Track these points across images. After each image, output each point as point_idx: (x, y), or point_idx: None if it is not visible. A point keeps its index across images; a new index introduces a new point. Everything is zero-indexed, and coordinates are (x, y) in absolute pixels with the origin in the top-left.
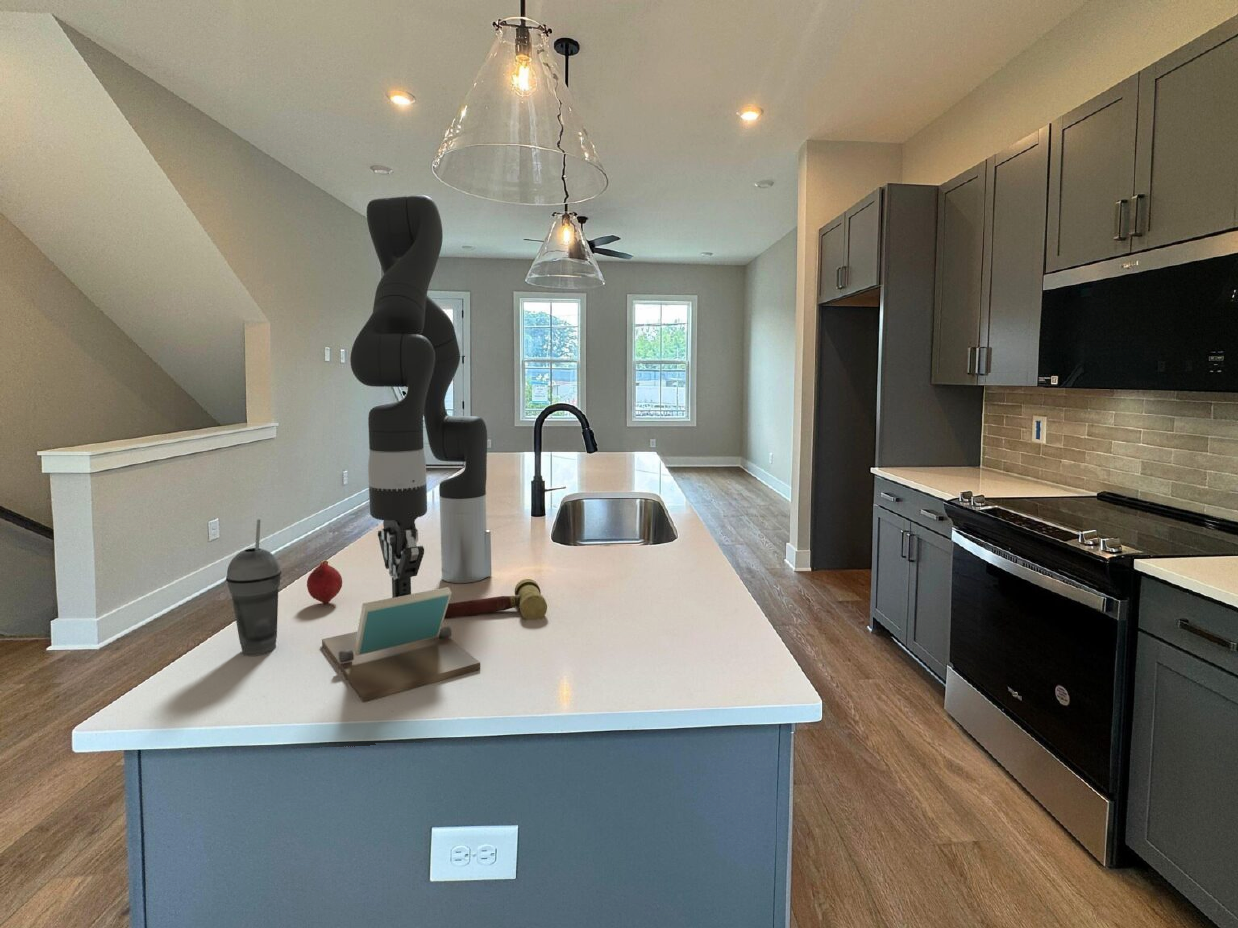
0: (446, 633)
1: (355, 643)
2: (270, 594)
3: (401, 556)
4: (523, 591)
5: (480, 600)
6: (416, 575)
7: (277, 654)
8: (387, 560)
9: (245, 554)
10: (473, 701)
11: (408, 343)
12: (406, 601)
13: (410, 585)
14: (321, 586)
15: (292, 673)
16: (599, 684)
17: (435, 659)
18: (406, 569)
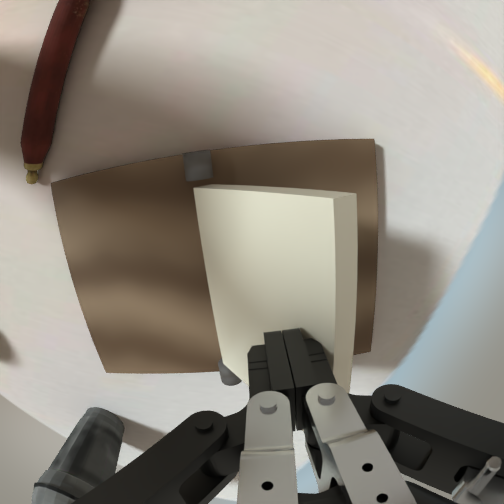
0: (211, 163)
1: (234, 372)
2: (93, 482)
3: (451, 493)
4: None
5: (51, 48)
6: (398, 386)
7: (127, 412)
8: (226, 484)
9: None
10: (459, 201)
11: None
12: (350, 356)
13: (310, 362)
14: None
15: (206, 409)
16: (484, 29)
17: None
18: (395, 437)
